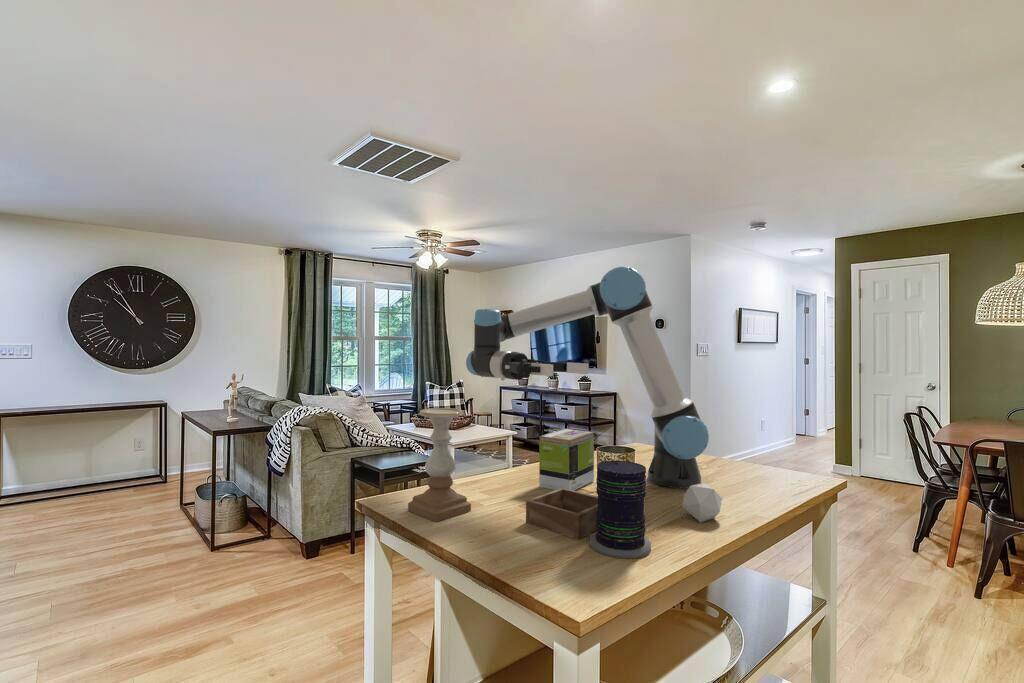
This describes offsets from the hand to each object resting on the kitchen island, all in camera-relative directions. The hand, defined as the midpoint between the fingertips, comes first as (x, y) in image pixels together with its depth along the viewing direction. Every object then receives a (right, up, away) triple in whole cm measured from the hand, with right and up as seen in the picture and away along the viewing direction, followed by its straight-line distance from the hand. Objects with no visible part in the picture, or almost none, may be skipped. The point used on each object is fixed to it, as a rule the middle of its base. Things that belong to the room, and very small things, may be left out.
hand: (570, 369), depth 126 cm
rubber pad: (+7, -34, -22) cm, 42 cm away
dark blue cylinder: (+7, -33, -22) cm, 41 cm away
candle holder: (-32, -34, -3) cm, 46 cm away
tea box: (+1, -34, +21) cm, 40 cm away
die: (+30, -35, -5) cm, 46 cm away
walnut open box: (-1, -34, -9) cm, 35 cm away
